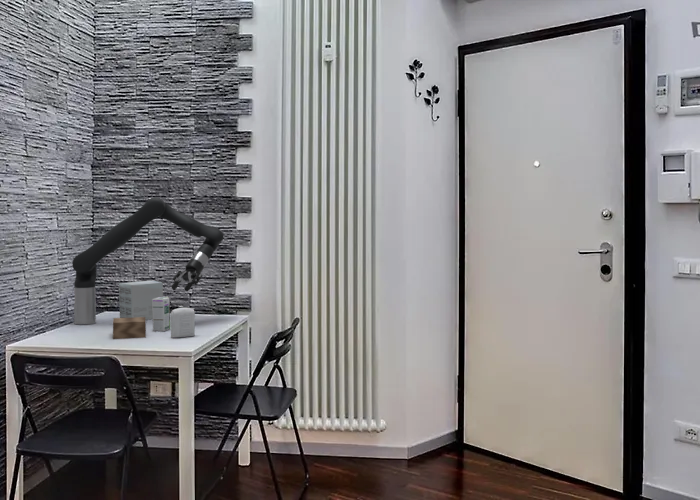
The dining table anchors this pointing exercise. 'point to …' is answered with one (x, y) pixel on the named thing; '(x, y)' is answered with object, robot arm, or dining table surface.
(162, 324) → the syrup box
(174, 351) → the dining table surface
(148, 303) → the supplement box
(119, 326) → the walnut block
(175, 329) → the photo printer
